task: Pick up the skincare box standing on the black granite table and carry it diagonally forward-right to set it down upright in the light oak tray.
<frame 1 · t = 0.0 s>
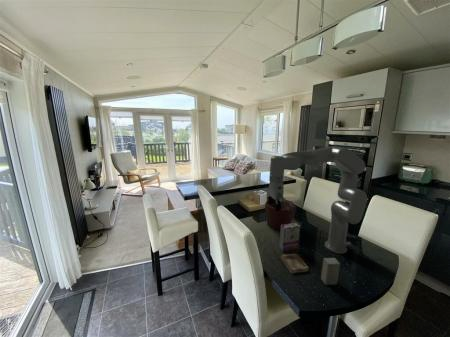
hand: (274, 207, 109), 31 cm above the table, fingers open, 9 cm apart
bucket: (277, 225, 150), on the table
skincare box: (328, 281, 96), on the table
oak tray: (294, 264, 108), on the table
candy bar box: (288, 248, 122), on the table
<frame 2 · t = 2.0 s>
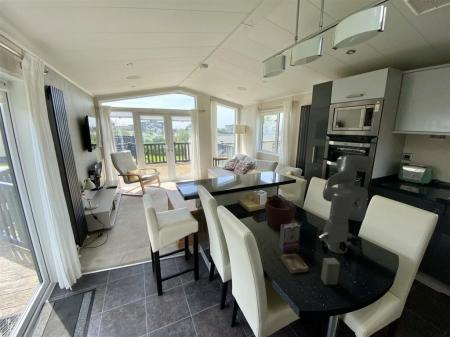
hand: (333, 251, 92), 18 cm above the table, fingers open, 9 cm apart
nothing on the table moved.
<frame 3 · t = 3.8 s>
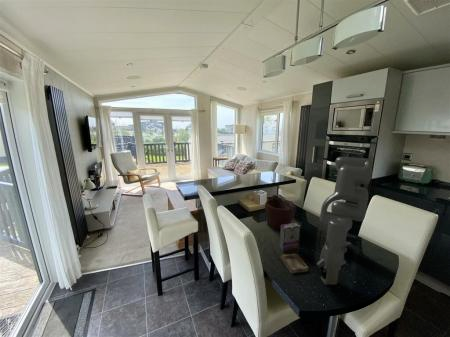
hand: (329, 275, 96), 3 cm above the table, fingers closed on skincare box, 6 cm apart
skincare box: (328, 281, 96), on the table, touching gripper
everything else where it was.
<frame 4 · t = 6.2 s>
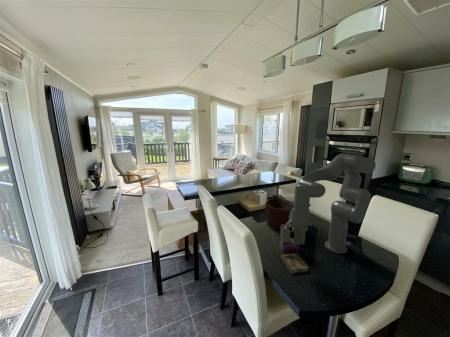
hand: (297, 236, 104), 18 cm above the table, fingers closed on skincare box, 6 cm apart
skincare box: (297, 242, 105), point 14 cm above the table, touching gripper
everything else where it was.
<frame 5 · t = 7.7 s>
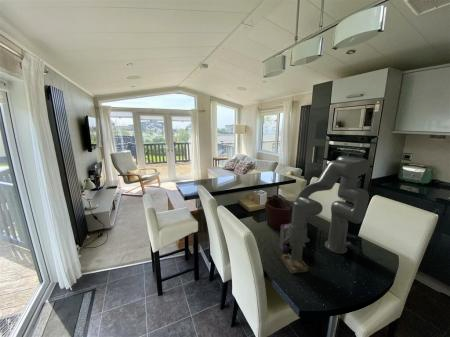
hand: (295, 252, 106), 8 cm above the table, fingers closed on skincare box, 6 cm apart
skincare box: (294, 258, 107), point 4 cm above the table, touching gripper
everything else where it was.
when the fingers open (5 cm above the table, at t = 8.7 s): skincare box moves 1 cm, resting on oak tray.
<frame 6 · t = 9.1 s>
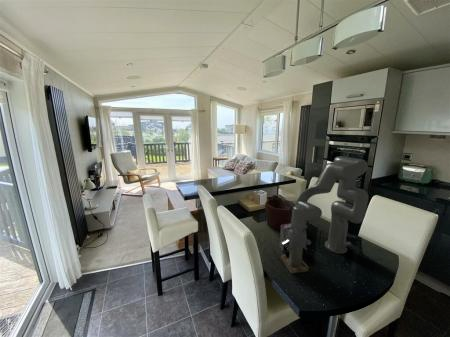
hand: (295, 255, 107), 6 cm above the table, fingers open, 9 cm apart
skincare box: (294, 263, 108), resting on oak tray
everything else where it was.
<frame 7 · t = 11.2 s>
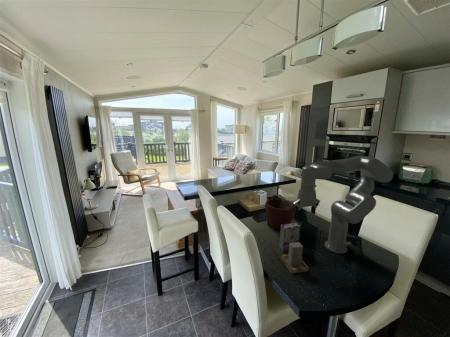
hand: (305, 214, 114), 25 cm above the table, fingers open, 9 cm apart
nothing on the table moved.
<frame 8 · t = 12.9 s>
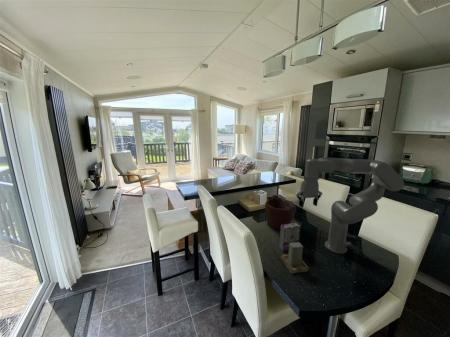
hand: (307, 205, 119), 28 cm above the table, fingers open, 9 cm apart
nothing on the table moved.
at the end: skincare box inside the target area on the oak tray (0.1 cm from its centre), point 0.4 cm above the oak tray's base; skincare box tilted 0°; the gripper is holding nothing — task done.
